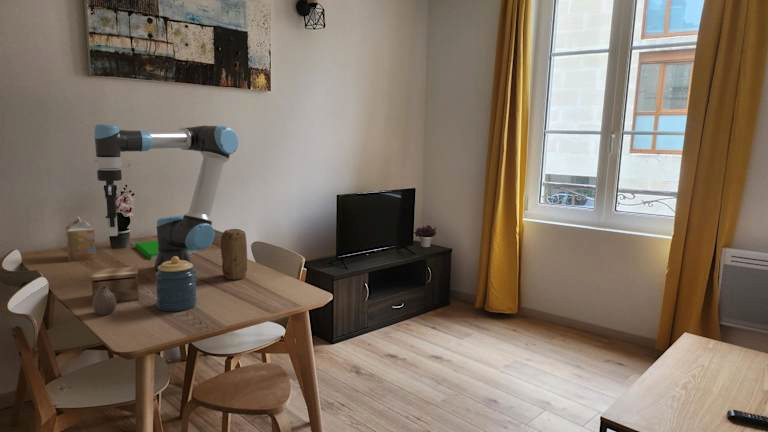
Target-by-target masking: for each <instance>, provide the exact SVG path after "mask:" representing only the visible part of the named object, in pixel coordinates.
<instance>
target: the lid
mask: <svg viewBox="0 0 768 432" xmlns="http://www.w3.org/2000/svg"><path fill="white" fill-rule="evenodd" d="M91 273H92V274H91V276H90V282H92V281H95V280H106V279H117V278H128V277H139V270H138V266H128V267H125V266H123V267H113V268H101V269H93V271H92V272H91Z"/></svg>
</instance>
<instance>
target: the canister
mask: <svg viewBox="0 0 768 432" xmlns="http://www.w3.org/2000/svg"><path fill="white" fill-rule="evenodd" d="M193 267H194V264H193V263H189V262H188V261H186V260H179V258H178V257H177V256H174V257H172V259H171V261H166V262H164V263H162V264H161V265H160V266H158V270H159V271H158V272H155V274H154V276H155V277H156V282H155V286H156V290H155V291H156V301H155V302H156V306H157V309H158V310H160V311H162V312H163V311H164V312H170V313H171V312H180V311H181V312H182V311H186V310H190V309H191V308H194V307H195V306H196V305H197V301H198V296H197V279H196V278H195V275H196V273H197V270H196V269H194V268H193Z"/></svg>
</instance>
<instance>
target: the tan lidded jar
mask: <svg viewBox="0 0 768 432" xmlns="http://www.w3.org/2000/svg"><path fill="white" fill-rule="evenodd" d="M65 237H66V247H67V258H68V262H69V263H75V262H83V261H84V262H85V261H93V260H94V261H96V260H97V252H96V249H97V248H96V237H95V227H94V226H93V225H92V224H90V223H89V222H87V221H85V220H82V219H81V217H80V216H77V219H76V220H74V221H73V222H71V223H69V224H67V226H66V227H65Z"/></svg>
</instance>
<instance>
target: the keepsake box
mask: <svg viewBox="0 0 768 432" xmlns="http://www.w3.org/2000/svg"><path fill="white" fill-rule="evenodd" d="M138 277H139V276H138ZM138 277H128V278H117V279H106V280H95V281H91V290H92V292H91V293H92V299H93V298H94V296H95V294H96V293H97V292H98V290H99V288H100V287H108V289H109V290H110V291H111V292H112V293H113V294H114V295H115V298H116V304H117V303H127V302H134V301H135V302H136V301H139V297H140V296H139V278H138Z"/></svg>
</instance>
